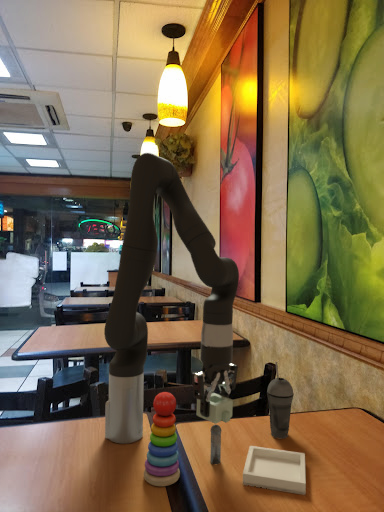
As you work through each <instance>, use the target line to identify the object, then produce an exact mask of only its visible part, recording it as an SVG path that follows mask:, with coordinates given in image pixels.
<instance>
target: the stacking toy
mask: <svg viewBox="0 0 384 512" xmlns="http://www.w3.org/2000/svg"><path fill="white" fill-rule="evenodd" d="M152 404H153V405H152V406H153V409H154V412H155V414H154V415H153V417H152V424H151V427H150V431H151V433H150V435H149V442H148V445H147V448H148V451H147V453H146V459H145V462H144V471H143V478H144V480H145V481H146V482H147V483H148V484H150V485H151V486H155V487H167V486H171V485H173V484H175V483H176V482H177V481H178V480H179V478H180V477H181V476H180V475H181V471H180V467H179V466H180V464H179V451H178V443H177V440H178V435H177V432H176V431H177V427H176V425H175V423H176V421H177V419H176V416H175V414H174V412H175V411H176V407H177V400H176V397H175V396H174V395H173V394H172V393H171V392H169V391H162V392H159V393H158V394H157V395H155V397H154V399H153V403H152Z"/></svg>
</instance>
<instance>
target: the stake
mask: <svg viewBox="0 0 384 512" xmlns="http://www.w3.org/2000/svg"><path fill="white" fill-rule="evenodd" d="M221 444H222V428H221V425H219V424H213V425H212V426H211V428H210V464H212V465H215V464H217V465H220V464H221V458H222V453H221V452H222V450H221V449H222V447H221V446H222V445H221Z"/></svg>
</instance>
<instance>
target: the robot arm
mask: <svg viewBox="0 0 384 512" xmlns="http://www.w3.org/2000/svg"><path fill="white" fill-rule="evenodd" d="M131 170H132V171H131V177H130V189H129V200H128V203H129V204H128V210H127V211H128V212H127V218H126V224H125V230H124V236H123V240H122V244H121V251H120V256H119V265H118V270H117V274H116V280H115V286H114V291H113V295H112V301H111V304H110V306H109V310H108V313H107V316H106V317H107V318H106V321H105V324H104V329H103V331H104V332H103V333H104V339H105V341H106V345H108V346H109V348H111V349H112V350H115V353H114V355H113V357H112V359H111V360H110V362H109V363H108V400H107V401H106V402H105V406H104V407H105V409H104V410H105V414H104V417H105V418H104V420H105V422H104V439H108V440H109V441H111V442H113V443H116V444H130V443H131V444H132V443H135V442H137V441H139V440H141V439H142V437H143V435H144V434H143V431H144V425H143V424H144V375H145V374H144V371H145V369H144V368H145V364H146V361H147V355H148V342H149V341H148V340H149V338H148V337H149V336H148V335H149V330H148V329H149V328H148V324H147V321H146V318H145V317H144V316H143V314H141V313H139V312H138V306H139V302H140V299H141V296H142V294H143V292H144V290H145V288H146V286H147V284H148V282H149V280H150V278H151V276H152V274H153V270H154V269H155V264H156V259H157V254H158V249H159V248H158V247H159V239H158V238H159V237H158V234H157V228H156V224H155V220H154V203H155V199H156V198H155V197H156V194H157V195H159V197H160V198H161V199H162V200H163V201H164V202H165V204H167V206H168V208H169V209H170V212H171V215H172V219H173V220H172V221H173V224H174V229H175V231H176V233H177V235H178V237H179V238H180V240H181V241H182V243H183V245H184V246H185V248H186V250H187V251H188V252H189V254H190V257H191V261H192V264H193V266H194V269H195V272H196V275H197V276H198V278H199V280H200V282H202V283H203V284H204V285H205V286H207V287H208V288H211V291H210V295H208V297H207V298H205V300H204V301H203V306H202V307H203V308H202V310H203V311H202V327H201V332H200V333H201V334H200V361H201V363H202V368H201V371H200V372H198V373H197V372H192V375H191V379H192V381H191V382H192V396H193V398H194V399H196V400H197V399H199V400H200V414H201V415H202V416H204V417H209V414H210V401H209V400H210V397H211V394H212V393H215V389H216V387H217V386H218V388H219V391H220V392H219V395H221V396H224V397H226V398H229V399H230V394H231V391H232V390H233V391H234V390H235V389H236V386H237V377H238V371H239V370H238V368H239V366H238V364H235V363H232V362H233V350H234V349H233V347H234V328H233V320H234V319H233V317H234V316H233V314H234V301H235V298H236V296H237V295H236V294H237V291H238V285H239V279H240V272H239V267H238V265H237V263H236V262H235V261H234V259H232V258H230V257H225V256H224V257H223V256H221V257H220V256H219V255H218V253H217V252H216V250H215V247H216V246H217V245H216V239H215V237H214V236H213V234H212V232H211V231H210V230H209V227H208V226H207V225H206V223H205V221H204V220H203V219H202V218H201V216H200V214H199V213H198V211H197V210H196V208H195V206H194V204H193V203H192V200H191V199H190V197H189V195H188V193H187V191H186V189H185V187H184V184H183V182H182V179H181V177H180V174H179V173H178V171H177V169H176V167H175V165H174V164H173V162H170V160H167V159H165V158H163V157H161V156H158V155H157V154H154V153H151V152H145V153H142V154H140V155H139V156H138V157H137V159H135V161H134V164H133V166H132V169H131ZM207 385H209V386H207Z"/></svg>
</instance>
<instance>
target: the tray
mask: <svg viewBox="0 0 384 512" xmlns="http://www.w3.org/2000/svg"><path fill="white" fill-rule="evenodd" d="M305 455H306V453H305V452H297V451H293V450H291V451H289V450H283V449H276V448H270V447H269V448H268V447H262V446H256V445H249V447H248V451H247V456H246V459H245V464H244V468H243V471H242V485H243V484H244V485H243V486H248V485H249V487H254V486H256V487H255V488H260V487H262V488H261V489H266V488H267V490H272V491H278V492H284V493H285V492H286V493H291V494H295V495H296V494H297V495H303V496H306V489H307V488H306V485H307V483H306V481H307V480H306V456H305Z"/></svg>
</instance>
